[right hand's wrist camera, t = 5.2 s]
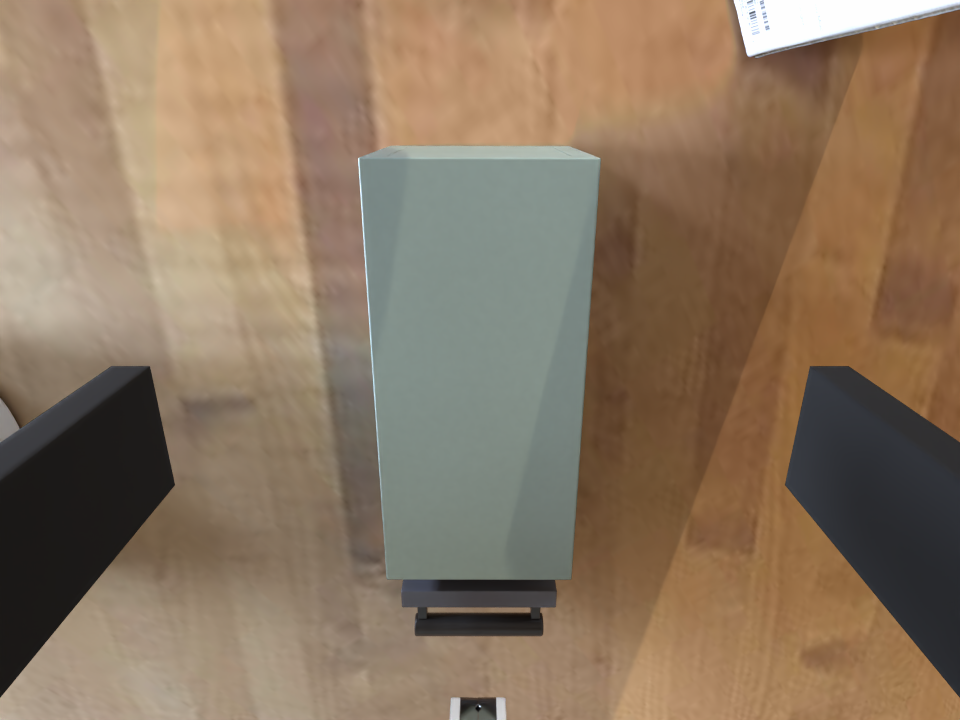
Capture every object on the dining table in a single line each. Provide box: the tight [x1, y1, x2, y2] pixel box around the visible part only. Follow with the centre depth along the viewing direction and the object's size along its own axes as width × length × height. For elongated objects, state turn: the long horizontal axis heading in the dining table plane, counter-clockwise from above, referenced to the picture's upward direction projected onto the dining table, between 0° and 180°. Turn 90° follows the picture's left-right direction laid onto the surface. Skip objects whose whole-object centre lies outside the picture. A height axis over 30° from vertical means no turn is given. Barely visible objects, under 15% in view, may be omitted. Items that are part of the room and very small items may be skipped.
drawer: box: [401, 580, 557, 636], centre depth 37 cm, size 26×9×8 cm, turn 0°
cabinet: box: [358, 146, 601, 580], centre depth 34 cm, size 22×10×10 cm, turn 0°
